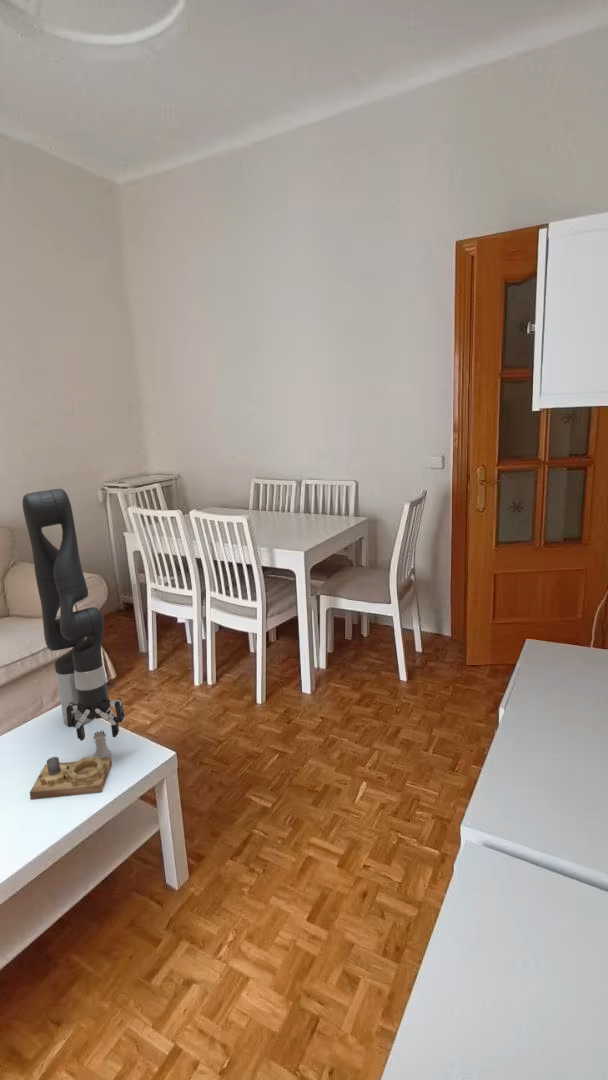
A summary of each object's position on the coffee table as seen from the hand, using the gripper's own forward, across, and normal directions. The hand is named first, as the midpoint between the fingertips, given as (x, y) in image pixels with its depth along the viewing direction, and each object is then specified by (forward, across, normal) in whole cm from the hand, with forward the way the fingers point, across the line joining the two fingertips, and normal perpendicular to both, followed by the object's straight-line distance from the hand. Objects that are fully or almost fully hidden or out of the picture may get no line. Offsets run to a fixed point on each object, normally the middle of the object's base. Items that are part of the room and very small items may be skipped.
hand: (98, 737), depth 149 cm
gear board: (+7, +5, +8) cm, 12 cm away
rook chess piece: (+7, 0, -1) cm, 7 cm away
